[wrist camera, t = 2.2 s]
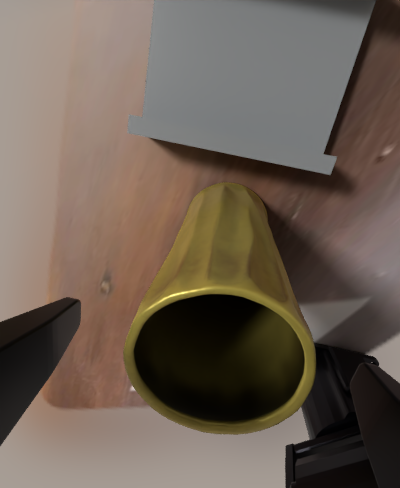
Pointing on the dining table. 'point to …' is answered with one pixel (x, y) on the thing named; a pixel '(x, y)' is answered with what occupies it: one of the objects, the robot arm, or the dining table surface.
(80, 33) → the dining table surface
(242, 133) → the tiered shelf
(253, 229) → the vase
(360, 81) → the dining table surface
